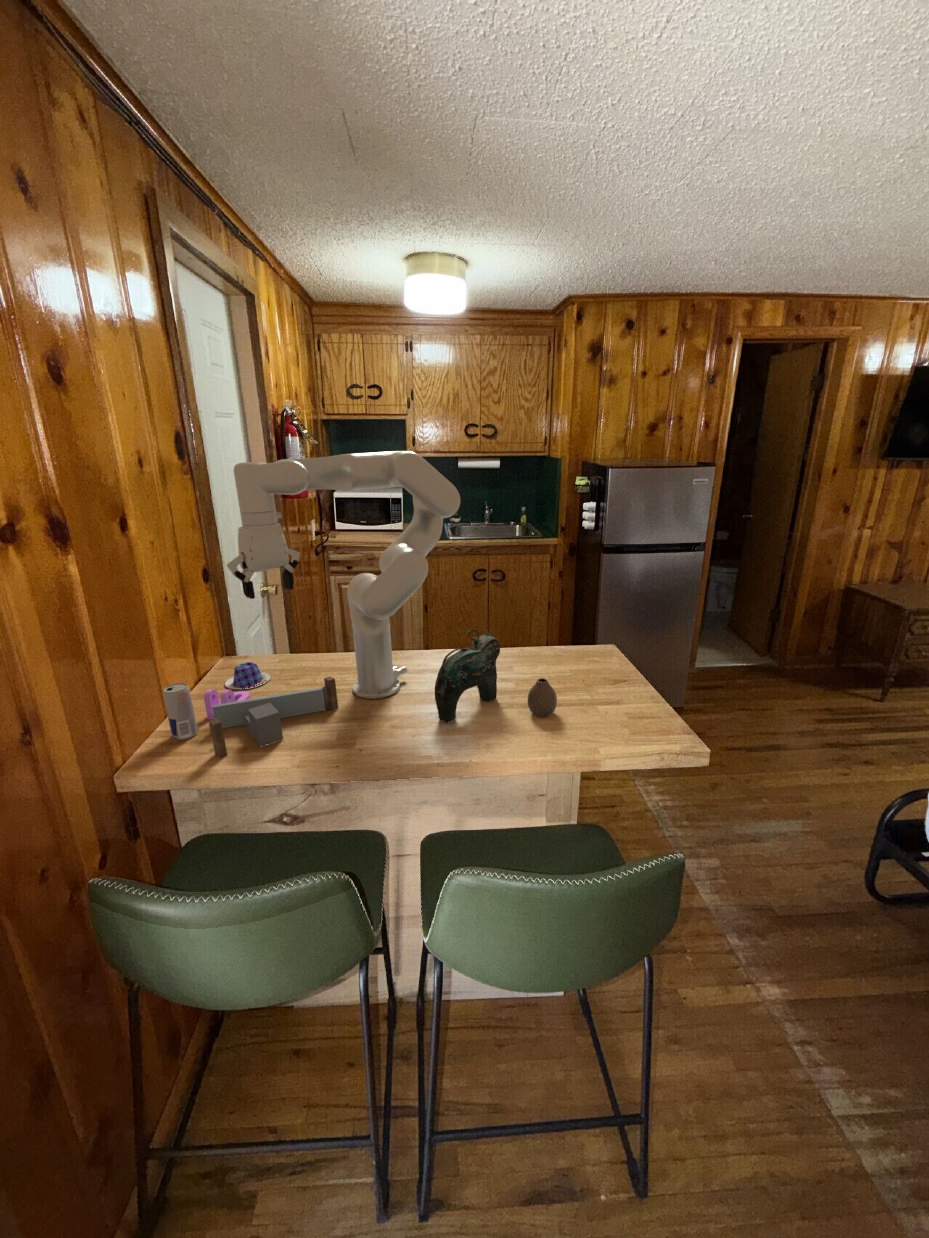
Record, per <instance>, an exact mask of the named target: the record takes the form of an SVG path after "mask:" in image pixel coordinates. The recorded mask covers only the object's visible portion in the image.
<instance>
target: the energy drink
mask: <svg viewBox="0 0 929 1238" xmlns="http://www.w3.org/2000/svg"><path fill="white" fill-rule="evenodd" d="M162 696H163V697H162V698H163V700H164V706H165V709H166V715H167V718H168V719H167V720H168V724H169V727H170V732H171V737H172V738H173V739H174V740H176V741H185V740H189V739H191V738H193V737H195V736H196V735H197V733H198V732H199V728H198V725H197V719H196V714H195V709H194V704H193V699H192V695H191V690H190V686H189V685H188V684H187V683H186V682H185V683H184V682H177V683H172V684H169V685H167V686H166V687H164V688H163V692H162Z"/></svg>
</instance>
